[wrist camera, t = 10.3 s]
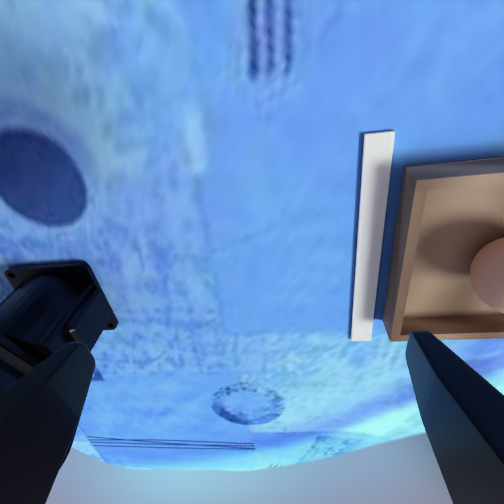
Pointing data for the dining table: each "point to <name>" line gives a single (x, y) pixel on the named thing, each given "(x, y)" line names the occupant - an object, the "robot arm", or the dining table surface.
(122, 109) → the dining table surface
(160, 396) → the dining table surface
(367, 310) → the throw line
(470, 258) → the tray
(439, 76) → the dining table surface
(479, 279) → the ball
